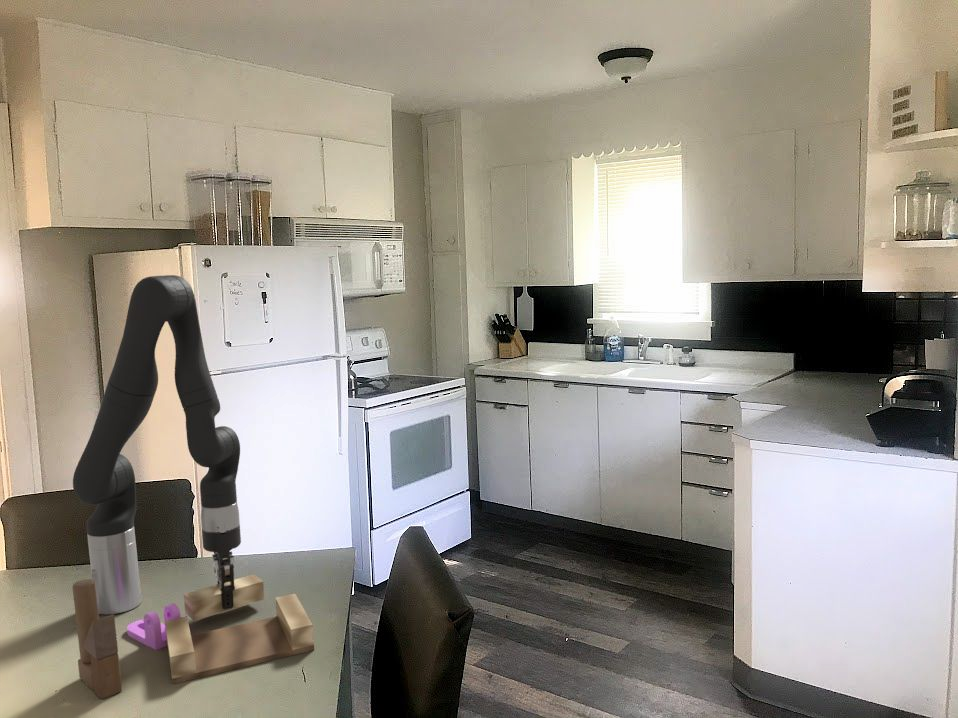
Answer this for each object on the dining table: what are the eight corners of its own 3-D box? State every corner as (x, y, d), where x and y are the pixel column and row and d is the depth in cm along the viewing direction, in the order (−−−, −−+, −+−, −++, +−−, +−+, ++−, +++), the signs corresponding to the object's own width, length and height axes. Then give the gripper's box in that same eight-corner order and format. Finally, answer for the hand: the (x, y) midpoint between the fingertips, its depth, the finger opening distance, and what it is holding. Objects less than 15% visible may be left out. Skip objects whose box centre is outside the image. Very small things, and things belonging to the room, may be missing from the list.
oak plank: (193, 620, 159) (192, 601, 158) (185, 612, 163) (183, 594, 162) (264, 599, 168) (263, 581, 168) (254, 591, 172) (253, 574, 172)
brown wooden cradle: (172, 684, 139) (170, 657, 138) (167, 645, 153) (164, 620, 153) (314, 649, 149) (312, 624, 148) (296, 616, 164) (295, 593, 163)
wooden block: (101, 700, 135) (90, 599, 132) (79, 678, 142) (68, 582, 140) (123, 691, 137) (112, 592, 135) (100, 670, 145) (90, 576, 143)
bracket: (182, 639, 156) (179, 606, 155) (156, 651, 152) (152, 616, 151) (148, 622, 164) (145, 590, 163) (122, 633, 160) (119, 600, 159)
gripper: (198, 517, 168) (203, 592, 171) (205, 538, 155) (211, 619, 158) (234, 511, 171) (239, 586, 174) (244, 532, 158) (249, 612, 161)
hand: (226, 601), depth 166 cm, fingers closed on oak plank, 5 cm apart
